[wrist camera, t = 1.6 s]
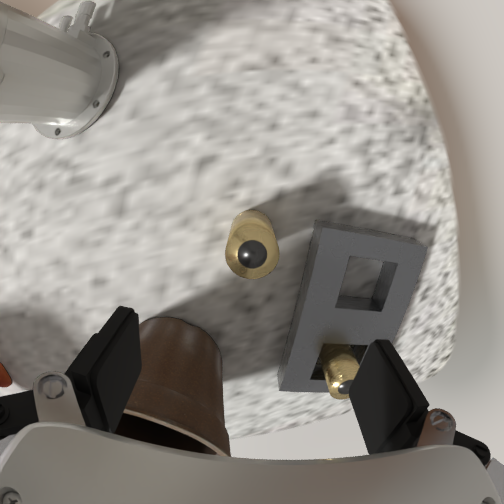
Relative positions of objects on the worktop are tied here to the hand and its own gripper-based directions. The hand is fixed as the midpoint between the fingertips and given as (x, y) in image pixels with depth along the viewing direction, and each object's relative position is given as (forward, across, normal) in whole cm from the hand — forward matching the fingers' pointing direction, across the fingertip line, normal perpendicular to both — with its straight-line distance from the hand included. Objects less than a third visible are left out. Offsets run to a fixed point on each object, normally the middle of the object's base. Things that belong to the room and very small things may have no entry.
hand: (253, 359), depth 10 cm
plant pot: (+19, +7, +17) cm, 26 cm away
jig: (+19, -12, +8) cm, 23 cm away
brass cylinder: (+18, 0, 0) cm, 19 cm away
